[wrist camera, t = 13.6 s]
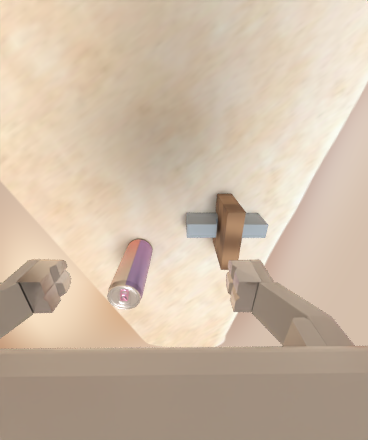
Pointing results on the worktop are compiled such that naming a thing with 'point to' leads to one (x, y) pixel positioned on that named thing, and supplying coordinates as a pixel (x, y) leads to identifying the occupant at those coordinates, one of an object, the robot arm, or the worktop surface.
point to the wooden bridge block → (228, 229)
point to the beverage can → (131, 276)
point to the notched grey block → (207, 225)
